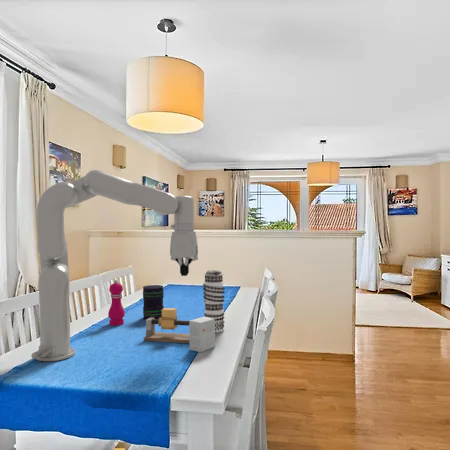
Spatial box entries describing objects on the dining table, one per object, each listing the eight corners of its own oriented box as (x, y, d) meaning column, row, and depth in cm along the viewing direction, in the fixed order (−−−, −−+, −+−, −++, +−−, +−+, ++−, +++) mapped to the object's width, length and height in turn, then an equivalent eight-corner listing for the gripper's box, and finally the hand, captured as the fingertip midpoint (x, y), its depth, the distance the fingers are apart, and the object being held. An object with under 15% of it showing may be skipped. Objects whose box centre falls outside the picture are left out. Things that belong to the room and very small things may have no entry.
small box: (204, 344, 150) (203, 316, 149) (215, 347, 146) (215, 318, 146) (189, 349, 143) (188, 320, 143) (200, 352, 140) (200, 322, 140)
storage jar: (160, 314, 199) (159, 284, 199) (166, 318, 191) (166, 287, 190) (140, 316, 194) (140, 286, 194) (146, 321, 186) (146, 289, 186)
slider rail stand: (198, 343, 150) (198, 322, 150) (143, 340, 155) (143, 319, 155) (204, 337, 158) (204, 317, 158) (152, 334, 163) (151, 315, 163)
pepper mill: (120, 326, 177) (119, 281, 177) (105, 325, 179) (104, 280, 178) (127, 322, 184) (126, 278, 184) (113, 321, 186) (112, 278, 186)
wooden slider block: (173, 329, 154) (173, 310, 154) (161, 329, 155) (161, 310, 155) (177, 326, 159) (177, 308, 158) (165, 326, 160) (165, 307, 160)
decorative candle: (200, 328, 172) (199, 270, 172) (220, 326, 175) (220, 268, 175) (207, 333, 164) (206, 272, 163) (228, 331, 167) (227, 271, 167)
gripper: (162, 228, 153) (162, 276, 153) (200, 228, 150) (200, 277, 150) (169, 227, 160) (169, 273, 160) (205, 227, 157) (205, 274, 157)
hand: (184, 275), depth 155 cm, fingers closed
